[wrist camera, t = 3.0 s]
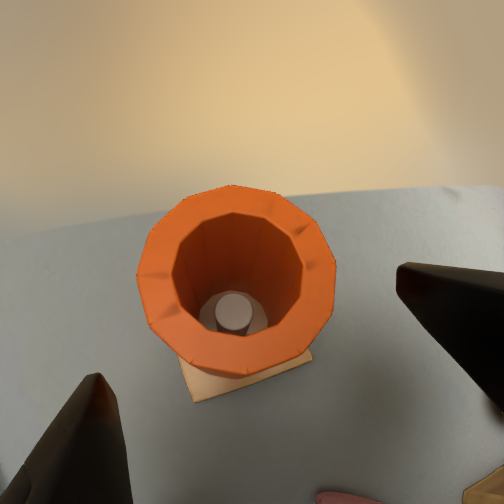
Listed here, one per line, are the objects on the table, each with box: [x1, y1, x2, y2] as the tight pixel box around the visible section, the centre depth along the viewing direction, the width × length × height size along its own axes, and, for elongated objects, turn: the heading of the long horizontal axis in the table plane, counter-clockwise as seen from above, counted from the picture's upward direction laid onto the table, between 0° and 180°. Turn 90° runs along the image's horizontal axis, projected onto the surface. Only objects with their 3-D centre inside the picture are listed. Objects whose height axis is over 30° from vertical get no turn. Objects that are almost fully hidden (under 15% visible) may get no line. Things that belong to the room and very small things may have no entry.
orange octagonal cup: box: [136, 185, 336, 379], centre depth 13 cm, size 6×6×8 cm
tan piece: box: [176, 290, 313, 403], centre depth 16 cm, size 7×7×4 cm
